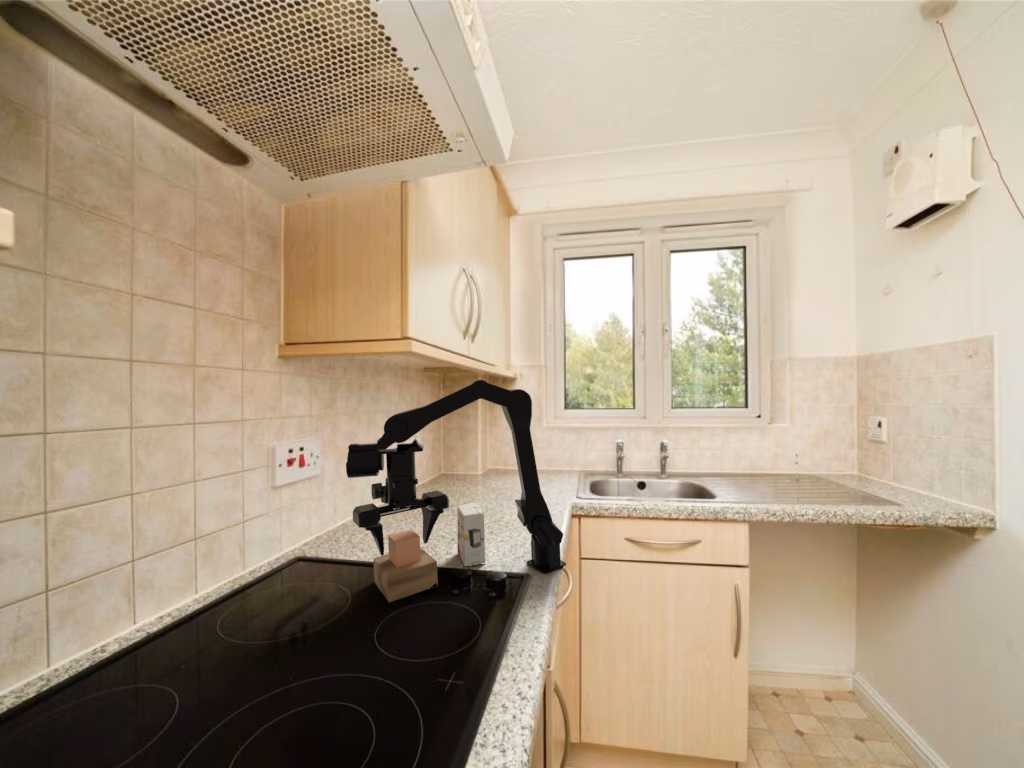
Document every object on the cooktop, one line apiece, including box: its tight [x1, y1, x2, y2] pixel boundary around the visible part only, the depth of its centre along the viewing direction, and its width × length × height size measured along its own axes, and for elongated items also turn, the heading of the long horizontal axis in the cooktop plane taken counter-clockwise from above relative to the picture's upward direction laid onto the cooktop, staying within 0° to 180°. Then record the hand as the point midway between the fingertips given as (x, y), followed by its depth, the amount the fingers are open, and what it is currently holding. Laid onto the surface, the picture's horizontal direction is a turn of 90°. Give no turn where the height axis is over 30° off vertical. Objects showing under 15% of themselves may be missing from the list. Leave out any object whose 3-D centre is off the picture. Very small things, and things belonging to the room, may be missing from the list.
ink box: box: [456, 502, 486, 567], centre depth 93 cm, size 9×5×12 cm, turn 19°
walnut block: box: [373, 546, 439, 603], centre depth 82 cm, size 10×10×5 cm
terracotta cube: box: [387, 529, 421, 567], centre depth 82 cm, size 5×5×5 cm
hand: (404, 548), depth 82 cm, fingers open, 9 cm apart
